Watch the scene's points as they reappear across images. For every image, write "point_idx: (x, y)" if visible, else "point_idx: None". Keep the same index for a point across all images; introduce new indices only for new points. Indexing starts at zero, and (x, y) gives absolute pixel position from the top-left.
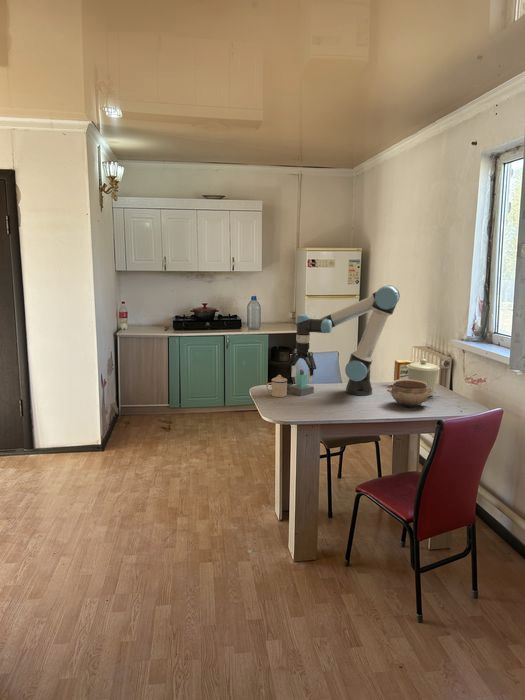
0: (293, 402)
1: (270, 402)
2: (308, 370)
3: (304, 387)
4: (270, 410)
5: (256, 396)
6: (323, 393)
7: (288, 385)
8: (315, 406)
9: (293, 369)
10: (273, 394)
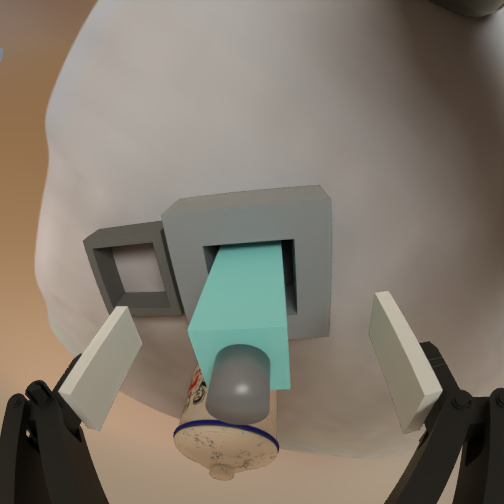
0: (378, 386)
1: (312, 434)
2: (404, 427)
3: (305, 290)
4: (376, 449)
5: None
6: (360, 118)
7: (101, 262)
8: (473, 342)
9: (107, 390)
10: None
